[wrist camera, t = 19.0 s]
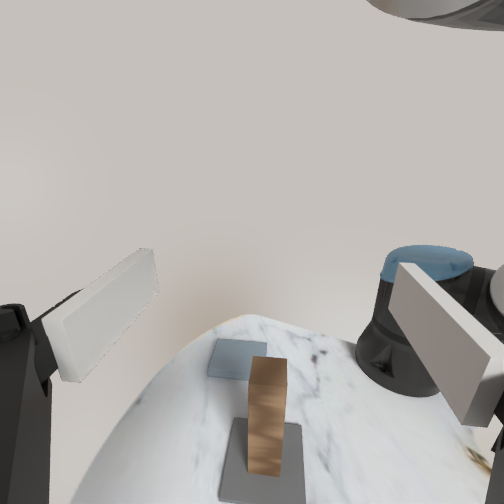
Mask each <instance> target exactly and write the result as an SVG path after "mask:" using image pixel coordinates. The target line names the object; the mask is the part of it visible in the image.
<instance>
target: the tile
mask: <svg viewBox="0 0 504 504" xmlns="http://www.w3.org/2000/svg"><path fill="white" fill-rule="evenodd" d="M266 354H267V343H265V342H253V341H242V340H230V339H218V341H217V344H216V347H215V350H214V352H213V355H212V358H211V361H210V364H209V367H208V376H210V377H220V378H229V379H239V380H249V377H250V371H251V364H252V357H253V356H262V357H266Z"/></svg>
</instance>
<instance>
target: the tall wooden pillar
mask: <svg viewBox="0 0 504 504" xmlns="http://www.w3.org/2000/svg"><path fill="white" fill-rule="evenodd" d="M286 395H287V359H284V358H273V357H262V356H253V357H252V364H251V371H250V377H249V386H248V473H252V474H259V475H267V476H274V477H280V470H281V457H282V445H283V433H284V420H285V408H286Z"/></svg>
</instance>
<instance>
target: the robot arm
mask: <svg viewBox="0 0 504 504" xmlns="http://www.w3.org/2000/svg"><path fill="white" fill-rule="evenodd" d="M367 1H368V2H369V3H370V4H371V5H373V6H374V7H376V8H378V9H379V10H381V11H383V12H385V13H388V14H391V15H394V16H397V17H401V18H405V19H408V20H411V21H415V22H422V23H428V24H434V25H440V26H447V27H452V28H461V29H473V30H487V31H504V0H367ZM473 265H474V262H473V258H472V256H471V255H469V254H468V253H466V252H463V251H458V250H456V249H453V248H448V247H442V246H433V245H413V246H405V247H400V248H397V249H395V250H393V251H392V252H390V253H389V254H388V255H387V257H386V260H385V263H384V266H383V270H382V272H381V273H380V283H379V288H378V293H377V298H376V303H375V308H374V313H373V317H372V320H371V322H370V323H369V325H368V326H367V327H366V329H365V330H364V332H363V333H362V334H361V336H360V337H359V339H358V341H357V346H356V351H355V355H356V359H357V362H358V364H359V365H360V367H361V368H362V370H363V371H364V372H365V373H366V374H367V375H368V376H369V377H370V378H371V379H372V380H374V381H375V382H377V383H378V384H380V385H381V386H383V387H385V388H387V389H389V390H391V391H393V392H396V393H399V394H402V395H406V396H411V397H429V396H433V395H435V394H437V393H439V392H441V393H442V395H443V396H444V398H445V399H446V401H447V403H448V404H449V406H450V407H451V409H452V411H453V412H454V414H455V415H456V417H457V419H458V420H459V422H460V423H461V425H468V426H477V427H488V425H489V423H490V421H491V419H492V417H493V415H494V414H495V415H496V416H497V418H498V419H499V420H500V422H501V423H502V424H503V425H504V265H502V266H501V267H500V268H499V269H498V270H497V271H496V270H491V269H487V268H481V267H476V266H473ZM158 292H159V290H158V282H157V275H156V269H155V260H154V253H153V249H141V248H140V249H139V250H137V251H136V252H134V253H133V254H132V255H130V256H129V257H127V258H126V259H125V260H123V261H122V262H120V263H119V264H118V265H116V266H115V267H113V268H112V269H111V270H109V271H108V272H106V273H105V274H104V275H102V276H101V277H99V278H98V279H97V280H95V281H94V282H92V283H91V284H90V285H88V286H87V287H85V288H84V289H81V290H79V291H77V292H74V293H72V294H71V295H69V296H68V297H66V298H65V299H63V301H61V302H59V303H58V304H56V305H55V307H52V308H51V309H49V310H48V311H46V312H45V313H44V314H42V315H40V316H39V317H38V318H36V319H35V320H33V321H32V322H30V321H29V318H28V315H27V313H26V310H25V307H24V305H22V304H7V305H1V306H0V504H49V481H50V480H49V479H50V443H51V442H50V441H51V404H52V383H51V380H50V376H51V375H52V374H53V373H54V372H55V371H56V370H57V369H58V371H59V374H60V377H61V380H62V381H68V382H78V383H81V382H82V381H83V380H84V379H85V378H86V376H87V375H88V374H89V373H90V372H91V371H92V369H93V368H94V367H95V366H96V365H97V364H98V362H99V361H100V360H101V359H102V358H103V356H104V355H105V354H106V353H107V352H108V351H109V350H110V348H111V347H112V346H113V345H114V344H115V343H116V341H117V340H118V339H119V338H120V337H121V336H122V334H123V333H124V332H125V331H126V330H127V329H128V327H129V326H130V325H131V324H132V323H133V322H134V320H135V319H136V318H137V317H138V316H139V315H140V313H141V312H142V311H143V310H144V309H145V308H146V306H147V305H148V304H149V303H150V302H151V301H152V299H153V298H154V297H155V296H156V295H157V294H158ZM491 451H493V452H495V457H494V462H493V467H492V472H491V476H490V481H489V486H488V491H487V496H486V501H485V504H504V426H503V428H502V430H501V432H500V433H499V435H498V437H497V439H496V441H495V443H494V445H493V447H492V449H491Z"/></svg>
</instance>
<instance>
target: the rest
mask: <svg viewBox="0 0 504 504" xmlns="http://www.w3.org/2000/svg"><path fill="white" fill-rule="evenodd" d="M219 501H222V502H229V503H235V504H306V496H305V479H304V462H303V445H302V427H301V425H296V424H287V423H284V433H283V445H282V457H281V470H280V477H274V476H267V475H259V474H252V473H248V419H244V418H236V417H234V421H233V426H232V431H231V437H230V442H229V447H228V453H227V458H226V463H225V469H224V474H223V479H222V485H221V490H220V495H219Z"/></svg>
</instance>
